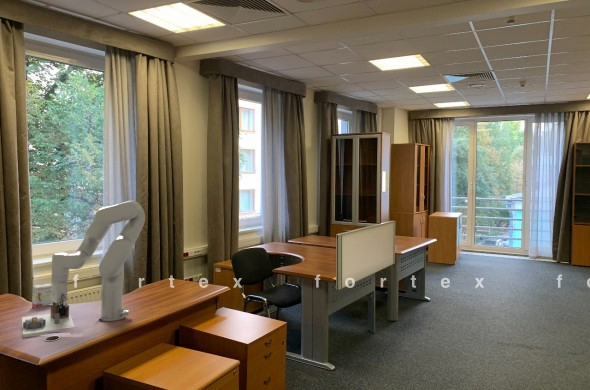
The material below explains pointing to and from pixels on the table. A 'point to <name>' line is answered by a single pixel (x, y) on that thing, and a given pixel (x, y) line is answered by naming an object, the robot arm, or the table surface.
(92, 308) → the table surface
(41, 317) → the gear board
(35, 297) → the ink box
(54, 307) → the walnut gear
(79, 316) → the table surface
